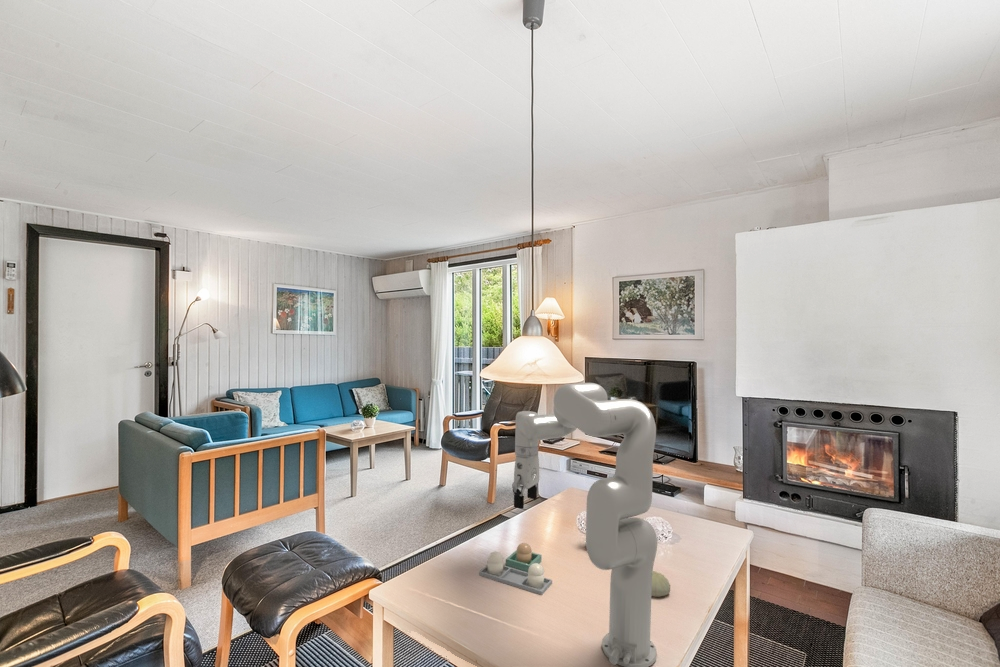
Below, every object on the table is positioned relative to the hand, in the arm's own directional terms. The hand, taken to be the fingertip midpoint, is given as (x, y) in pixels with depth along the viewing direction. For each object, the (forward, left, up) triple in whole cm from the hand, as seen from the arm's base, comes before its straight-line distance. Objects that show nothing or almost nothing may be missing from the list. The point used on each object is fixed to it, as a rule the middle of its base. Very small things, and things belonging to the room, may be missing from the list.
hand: (525, 502), depth 155 cm
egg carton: (-10, -2, -20) cm, 23 cm away
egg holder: (0, 0, -20) cm, 20 cm away
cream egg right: (-10, -9, -20) cm, 24 cm away
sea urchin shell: (+7, -39, -21) cm, 45 cm away
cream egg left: (-10, +5, -20) cm, 23 cm away
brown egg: (0, 0, -20) cm, 20 cm away
